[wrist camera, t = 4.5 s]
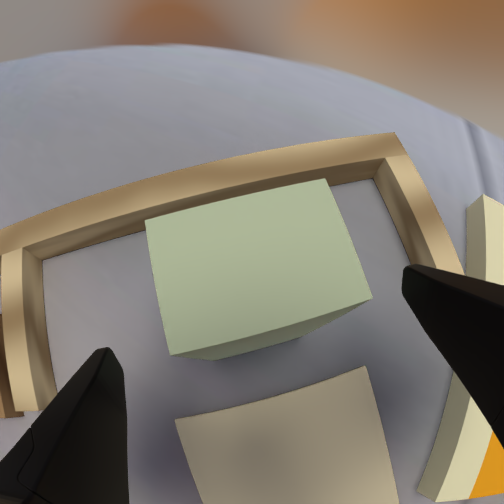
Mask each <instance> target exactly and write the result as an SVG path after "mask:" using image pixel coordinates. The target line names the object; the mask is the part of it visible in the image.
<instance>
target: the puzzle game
mask: <svg viewBox="0 0 504 504" xmlns="http://www.w3.org/2000/svg"><path fill="white" fill-rule="evenodd" d="M466 219H467V255H466V276H469V277H473V278H477V279H481V280H485V281H489V282H492V283H496V284H500V285H504V205H502V204H501V203H499V202H497V201H495V200H493V199H491V198H490V197H488V196H486V195H484V194H483V195H481V196H480V197H479V198H478V199H477V200H476V201H475V202H474V203H472V204H471V205H470V206H469V207H468V208H467V209H466ZM416 491H417V492H419V493H420V494H422V495H424V496H425V497H427V498H429V499H431V500H432V501H434V502H443V501H454V500H463V499H471V498H477V497H484V496H490V495H495V494H500V493H504V449H503V447H502V445H501V444H500V442H499V440H498V439H497V437H496V435H495V434H494V432H493V430H492V429H491V426H490V425H489V423H488V422H487V420H486V419H485V417H484V415H483V414H482V412H481V411H480V409H479V408H478V406H477V405H476V403H475V402H474V400H473V398H472V397H471V395H470V394H469V392H468V391H467V390H466V388H465V387H464V385H463V384H462V382H461V381H460V379H459V378H458V376H457V375H456V373H455V372H454V371H453V375H452V380H451V385H450V389H449V393H448V397H447V401H446V405H445V409H444V413H443V416H442V420H441V423H440V427H439V430H438V433H437V436H436V440H435V443H434V446H433V449H432V452H431V454H430V457H429V460H428V463H427V465H426V468H425V471H424V473H423V476H422V478H421V481H420V483H419V486H418V488H417V490H416Z"/></svg>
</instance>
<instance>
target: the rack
mask: <svg viewBox="0 0 504 504" xmlns="http://www.w3.org/2000/svg"><path fill="white" fill-rule="evenodd" d="M324 178H325V179H326V181H327V183H328V186H334V185H339V184H344V183H349V182H354V181H359V180H365V179H370V178H373V179H374V181H375V183H376V185H377V187H378V189H379V192H380V194H381V196H382V198H383V200H384V202H385V204H386V206H387V208H388V211H389V213H390V215H391V217H392V219H393V222H394V224H395V226H396V228H397V231H398V233H399V235H400V238H401V240H402V243H403V245H404V247H405V250H406V252H407V255H408V257H409V260H410V262H411V265H412V264H420V265H424V266H428V267H433V268H437V269H441V270H445V271H449V272H453V273H457V274H461V275H465V274H464V272H463V269H462V266H461V264H460V261H459V259H458V256H457V254H456V251H455V249H454V246H453V244H452V242H451V239H450V237H449V235H448V232H447V230H446V228H445V226H444V223H443V221H442V219H441V217H440V215H439V213H438V211H437V209H436V206H435V204H434V202H433V200H432V198H431V196H430V194H429V192H428V190H427V188H426V187H425V185H424V183H423V181H422V179H421V177H420V175H419V173H418V172H417V170H416V168H415V166H414V164H413V163H412V161H411V159H410V157H409V156H408V154H407V152H406V151H405V149H404V147H403V146H402V144H401V142H400V141H399V139H398V137H397V136H396V134H395V132H394V133H383V134H373V135H365V136H356V137H348V138H340V139H333V140H326V141H319V142H313V143H306V144H300V145H294V146H288V147H283V148H277V149H272V150H266V151H261V152H256V153H251V154H246V155H241V156H236V157H232V158H227V159H223V160H218V161H214V162H209V163H205V164H201V165H197V166H193V167H189V168H185V169H181V170H177V171H173V172H169V173H165V174H162V175H158V176H154V177H151V178H147V179H144V180H140V181H137V182H133V183H130V184H126V185H123V186H120V187H117V188H113V189H110V190H107V191H104V192H101V193H98V194H94V195H91V196H88V197H85V198H82V199H79V200H77V201H74V202H71V203H68V204H65V205H62V206H60V207H57V208H54V209H51V210H49V211H46V212H43V213H41V214H38V215H35V216H33V217H30V218H28V219H25V220H23V221H20V222H18V223H15V224H13V225H10V226H8V227H6V228H3V229H1V230H0V274H1V303H2V322H3V334H4V345H5V353H6V361H7V368H8V374H9V380H10V386H11V392H12V397H13V401H14V406H15V411H40V410H44V409H45V408H46V407H47V406H48V405H49V403H50V402H51V401H52V400H53V399H54V397H55V396H56V395H57V390H56V385H55V380H54V375H53V369H52V364H51V358H50V351H49V344H48V337H47V329H46V320H45V309H44V297H43V279H42V260H45V259H48V258H51V257H54V256H57V255H61V254H64V253H67V252H70V251H74V250H77V249H80V248H84V247H87V246H90V245H94V244H97V243H101V242H104V241H107V240H111V239H114V238H118V237H121V236H125V235H129V234H132V233H136V232H139V231H143V230H146V226H145V220H148V219H151V218H155V217H159V216H162V215H166V214H170V213H174V212H178V211H181V210H185V209H189V208H193V207H197V206H201V205H205V204H209V203H213V202H218V201H222V200H226V199H230V198H234V197H239V196H243V195H247V194H252V193H256V192H261V191H265V190H270V189H275V188H279V187H284V186H289V185H294V184H298V183H303V182H308V181H313V180H319V179H324Z"/></svg>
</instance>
